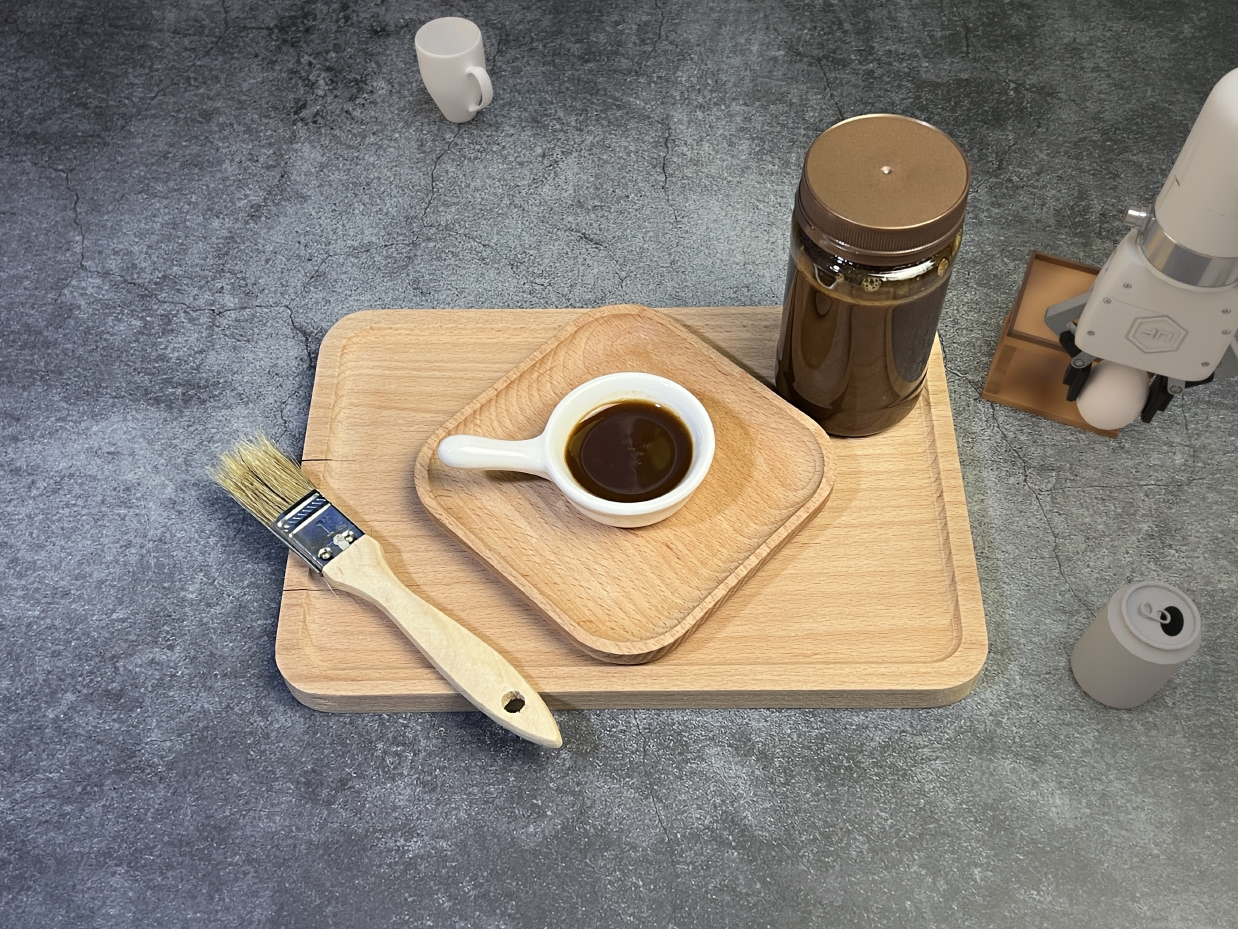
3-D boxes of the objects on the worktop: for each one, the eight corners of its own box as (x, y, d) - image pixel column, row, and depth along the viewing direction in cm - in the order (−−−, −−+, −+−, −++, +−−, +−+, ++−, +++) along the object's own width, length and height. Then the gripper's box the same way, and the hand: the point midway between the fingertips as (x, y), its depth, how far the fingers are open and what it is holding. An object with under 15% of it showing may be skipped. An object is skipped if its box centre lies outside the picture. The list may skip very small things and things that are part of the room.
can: (1145, 725, 96) (1203, 669, 86) (1059, 692, 98) (1106, 633, 88) (1160, 653, 100) (1217, 592, 90) (1077, 623, 102) (1124, 559, 92)
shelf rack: (1133, 356, 120) (1173, 287, 111) (1115, 439, 114) (1155, 373, 105) (1005, 319, 123) (1033, 249, 114) (980, 398, 117) (1008, 330, 108)
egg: (1109, 388, 95) (1141, 332, 89) (1142, 436, 92) (1177, 381, 86) (1054, 402, 94) (1082, 346, 88) (1086, 451, 92) (1117, 396, 85)
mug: (416, 110, 145) (400, 33, 136) (467, 84, 148) (456, 7, 139) (469, 156, 140) (456, 80, 131) (521, 128, 143) (512, 51, 134)
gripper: (1065, 243, 76) (996, 403, 91) (1330, 310, 72) (1212, 465, 87) (1082, 174, 80) (1013, 338, 95) (1335, 234, 76) (1222, 395, 91)
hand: (1110, 398), depth 91 cm, fingers closed on egg, 5 cm apart
